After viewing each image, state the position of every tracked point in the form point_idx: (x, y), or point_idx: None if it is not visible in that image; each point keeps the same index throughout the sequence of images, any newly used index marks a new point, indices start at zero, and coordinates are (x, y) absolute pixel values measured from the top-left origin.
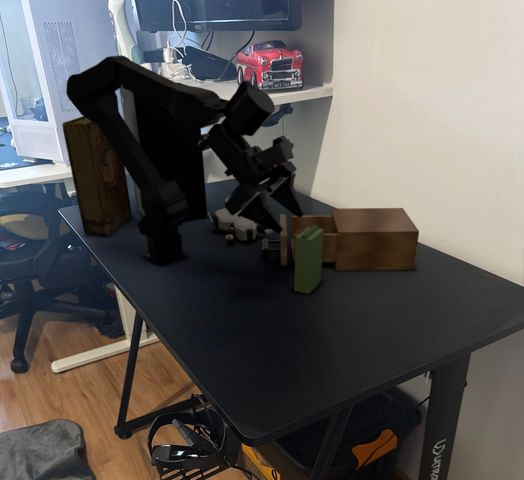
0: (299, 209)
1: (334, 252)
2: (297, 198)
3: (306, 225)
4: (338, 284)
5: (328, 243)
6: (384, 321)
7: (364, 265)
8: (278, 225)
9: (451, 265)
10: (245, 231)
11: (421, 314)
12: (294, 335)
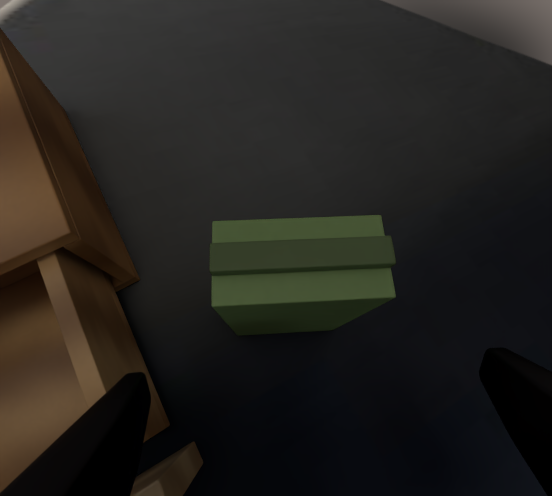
0: (127, 407)
1: (98, 282)
2: (7, 492)
3: None
4: None
5: (88, 296)
6: (353, 99)
7: (102, 204)
8: (545, 371)
9: None
10: None
11: (287, 55)
12: (522, 225)
